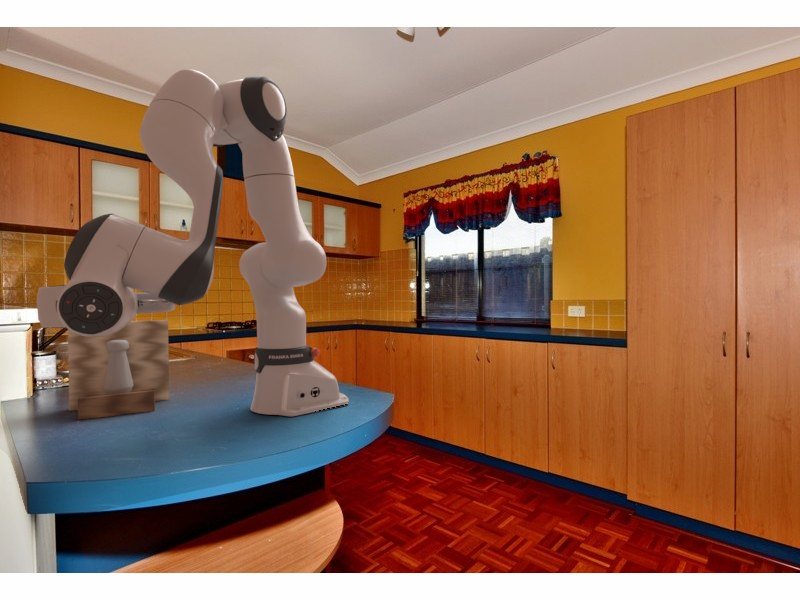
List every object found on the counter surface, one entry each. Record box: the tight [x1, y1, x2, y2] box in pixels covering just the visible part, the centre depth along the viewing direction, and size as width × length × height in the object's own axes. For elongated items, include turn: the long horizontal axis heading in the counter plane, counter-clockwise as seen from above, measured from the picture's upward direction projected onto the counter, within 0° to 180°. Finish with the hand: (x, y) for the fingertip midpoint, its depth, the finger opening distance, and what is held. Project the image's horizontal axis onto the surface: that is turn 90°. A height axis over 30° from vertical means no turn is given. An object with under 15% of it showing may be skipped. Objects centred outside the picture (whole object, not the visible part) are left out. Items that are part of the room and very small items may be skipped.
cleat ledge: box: [77, 389, 156, 421], centre depth 95 cm, size 14×10×4 cm
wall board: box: [67, 319, 170, 412], centre depth 101 cm, size 20×2×20 cm, turn 120°
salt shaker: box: [103, 340, 133, 395], centre depth 96 cm, size 6×6×13 cm
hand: (115, 302), depth 80 cm, fingers open, 8 cm apart
